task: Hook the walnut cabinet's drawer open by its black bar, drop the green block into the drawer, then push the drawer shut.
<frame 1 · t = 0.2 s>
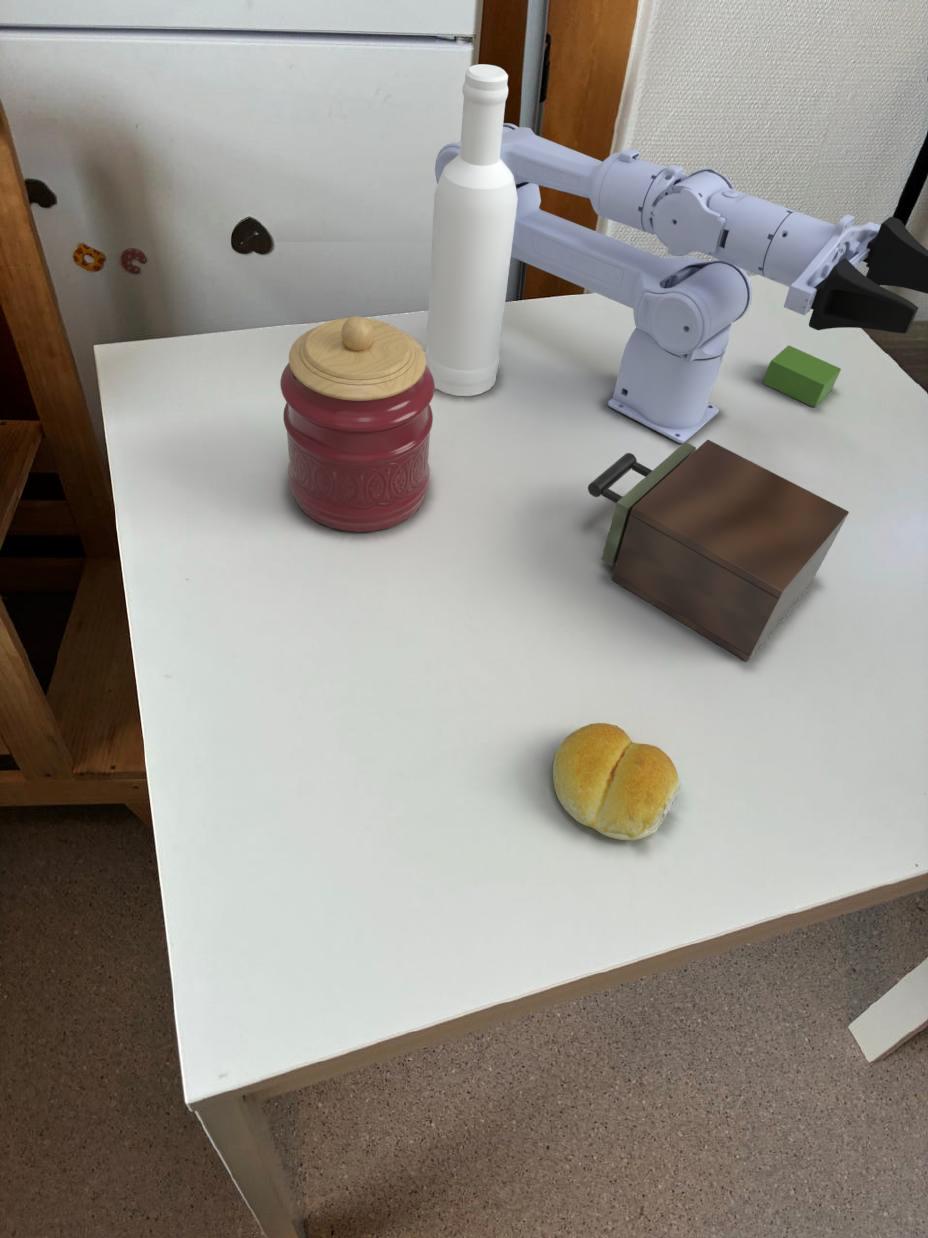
drawer: (683, 522, 79), point 4 cm above the table, slide at 0.5 cm
green block: (796, 387, 102), on the table
cabinet: (712, 581, 81), on the table
kitchen canister: (359, 489, 85), on the table
bread roll: (611, 790, 66), on the table
bottle: (460, 377, 98), on the table
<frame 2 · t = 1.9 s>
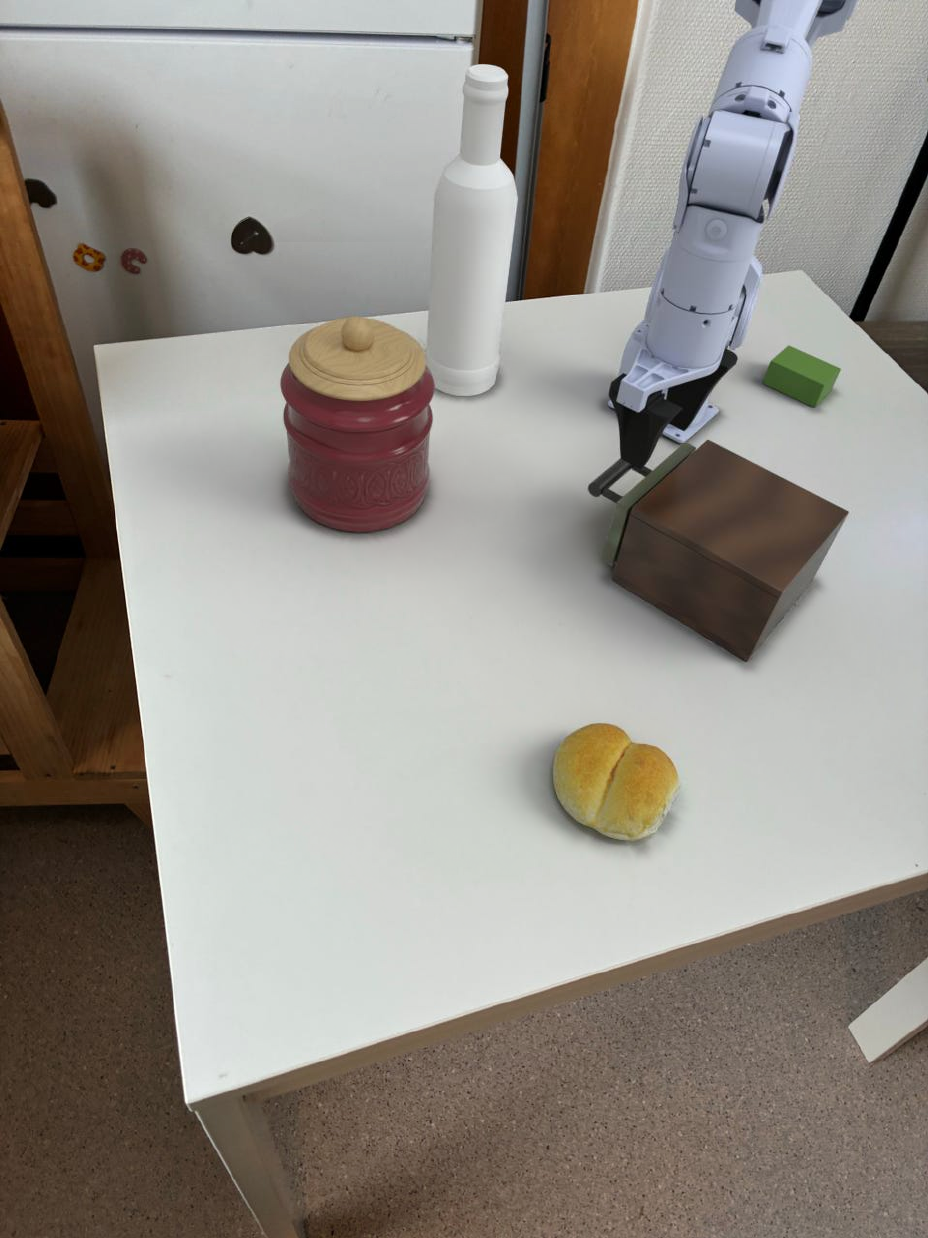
hand: (654, 442, 76), 10 cm above the table, tool pointing down, fingers open, 6 cm apart
nothing on the table moved.
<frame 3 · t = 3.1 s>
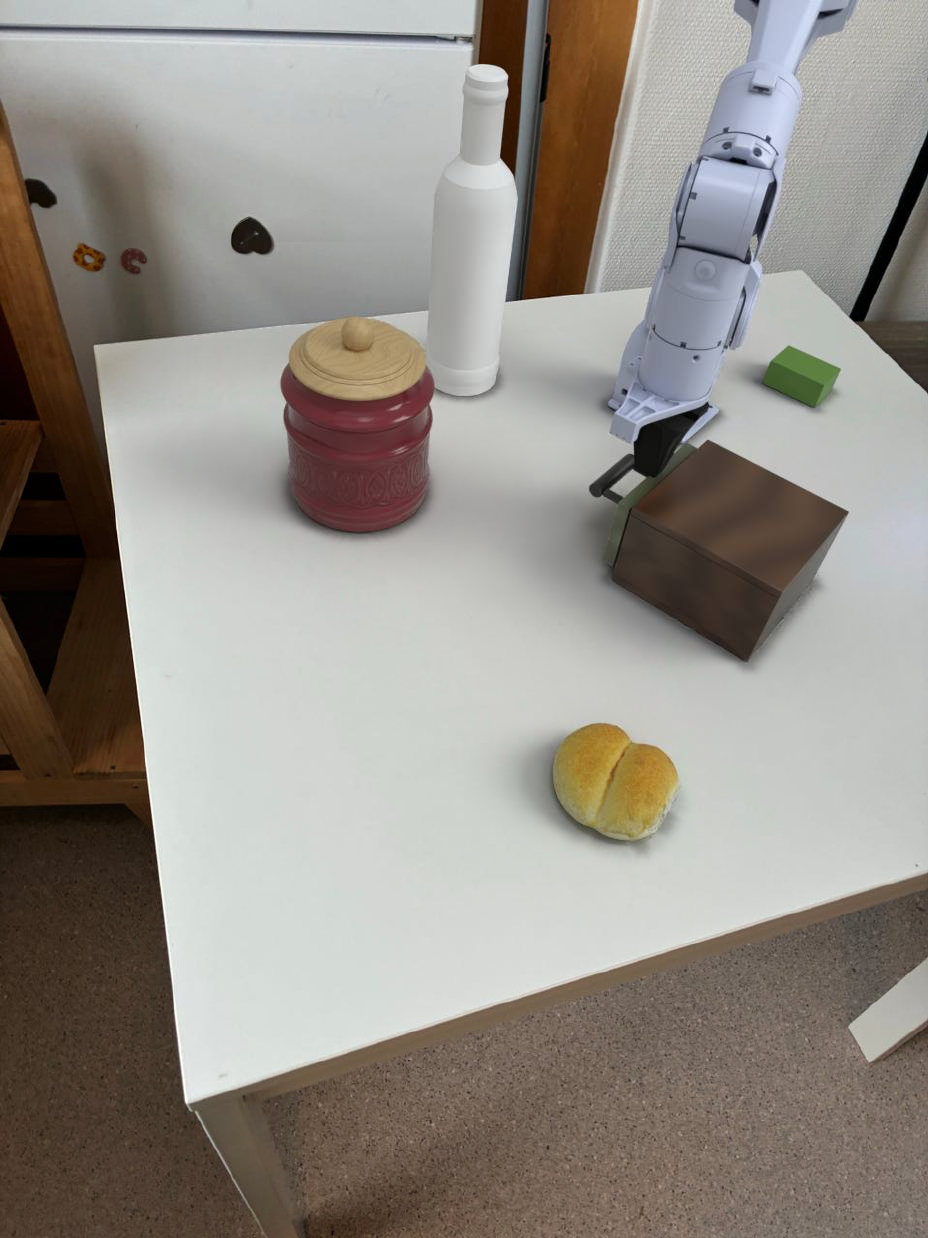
hand: (647, 471, 78), 7 cm above the table, tool pointing down, fingers closed, pressing on drawer
drawer: (684, 522, 79), point 4 cm above the table, slide at 0.4 cm, touching gripper
everything else where it was.
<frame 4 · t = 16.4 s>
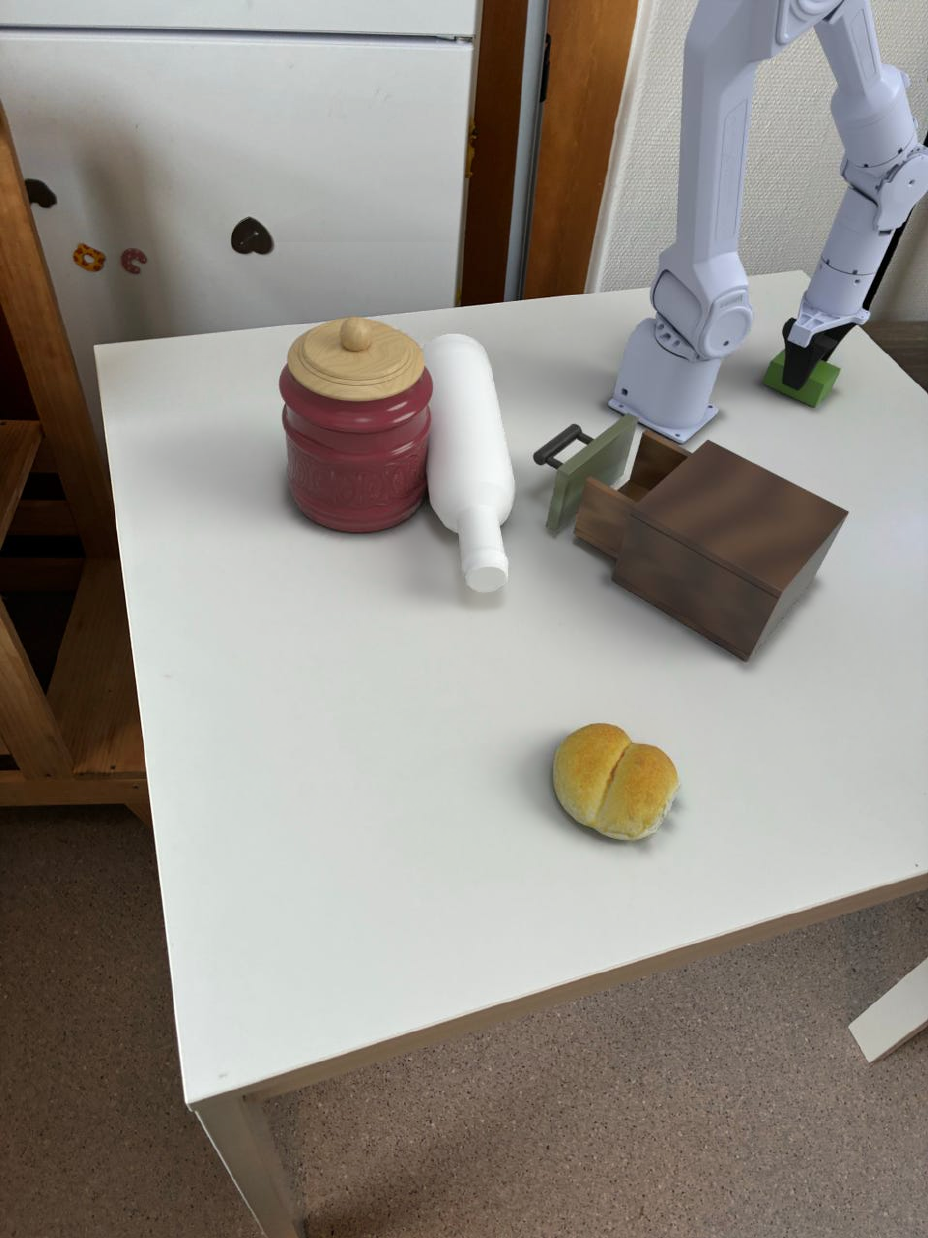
hand: (800, 376, 101), 1 cm above the table, tool pointing down, fingers closed on green block, 4 cm apart
drawer: (624, 489, 81), point 4 cm above the table, slide at 6.6 cm
green block: (796, 387, 102), on the table, touching gripper
kitchen canister: (358, 490, 85), on the table, touching bottle
bottle: (451, 364, 93), point 4 cm above the table, touching kitchen canister
everything else where it was.
when the fingers open (6 cm above the table, at t = 22.8 s): green block drops 3 cm, resting on drawer.
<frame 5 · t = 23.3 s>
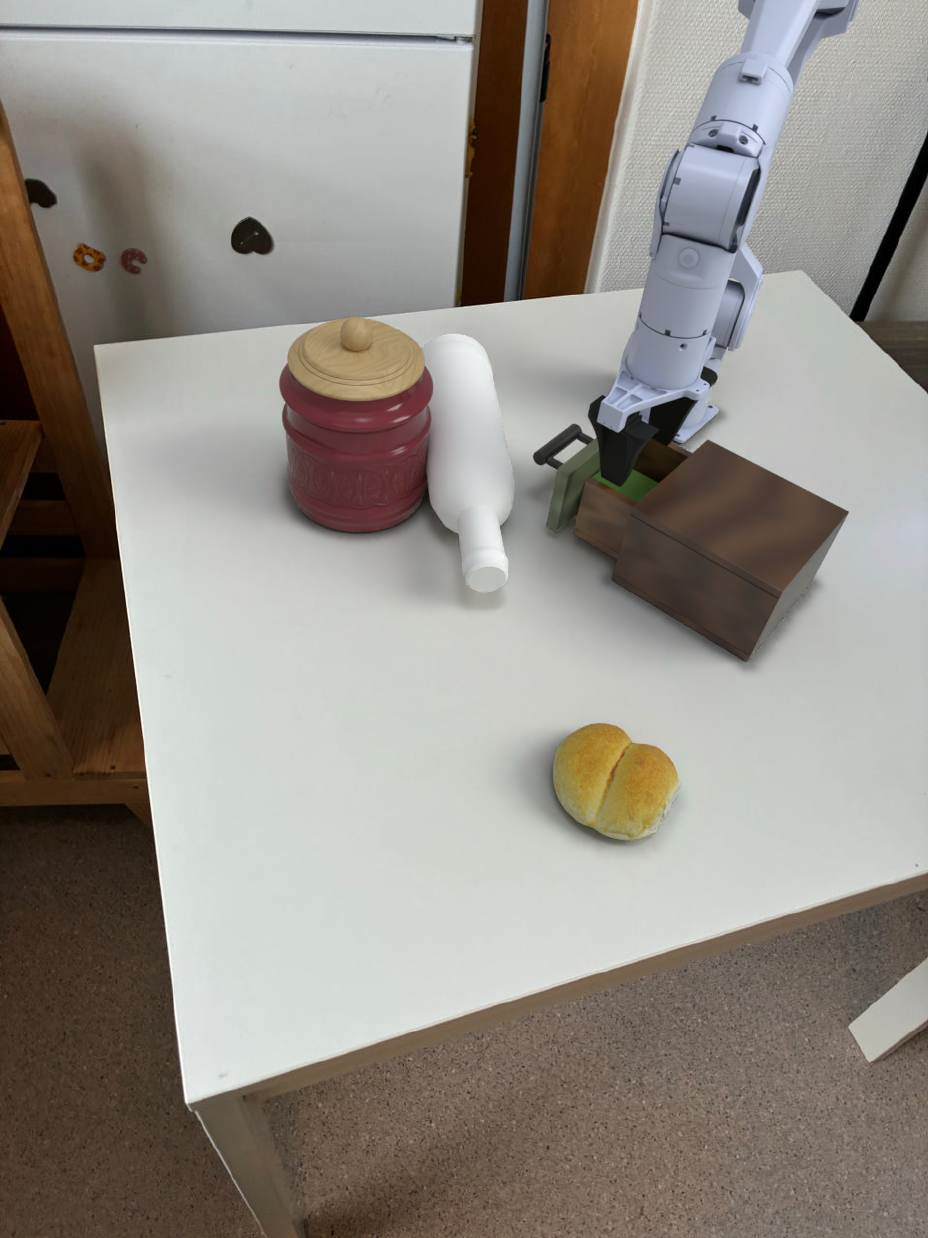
hand: (636, 459, 78), 8 cm above the table, tool pointing down, fingers open, 7 cm apart
drawer: (624, 489, 81), point 4 cm above the table, slide at 6.6 cm, touching green block
green block: (623, 510, 83), point 2 cm above the table, touching drawer
everything else where it was.
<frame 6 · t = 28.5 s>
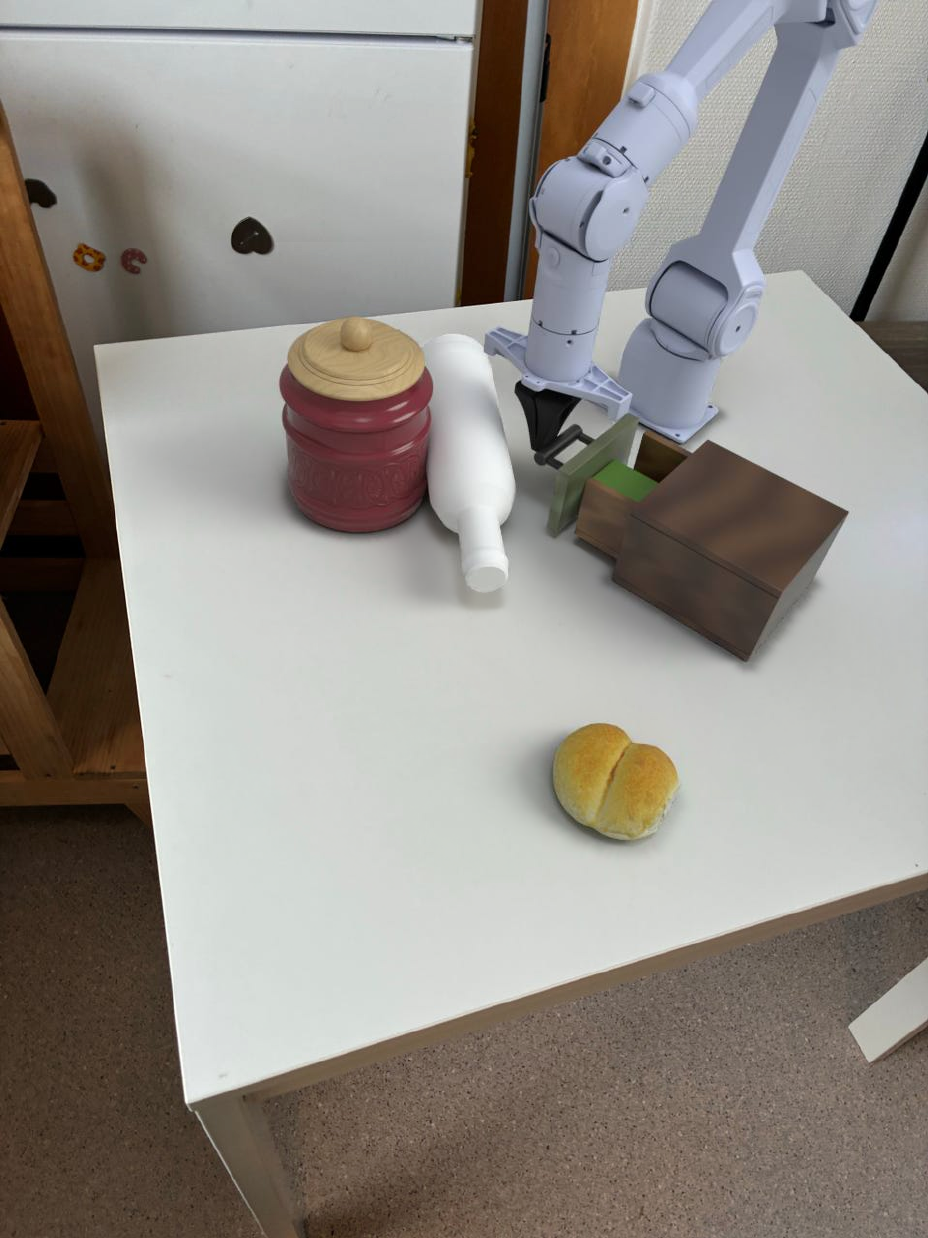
hand: (542, 447, 85), 4 cm above the table, tool pointing down, fingers closed
drawer: (625, 490, 81), point 4 cm above the table, slide at 6.5 cm, touching gripper, green block
everything else where it was.
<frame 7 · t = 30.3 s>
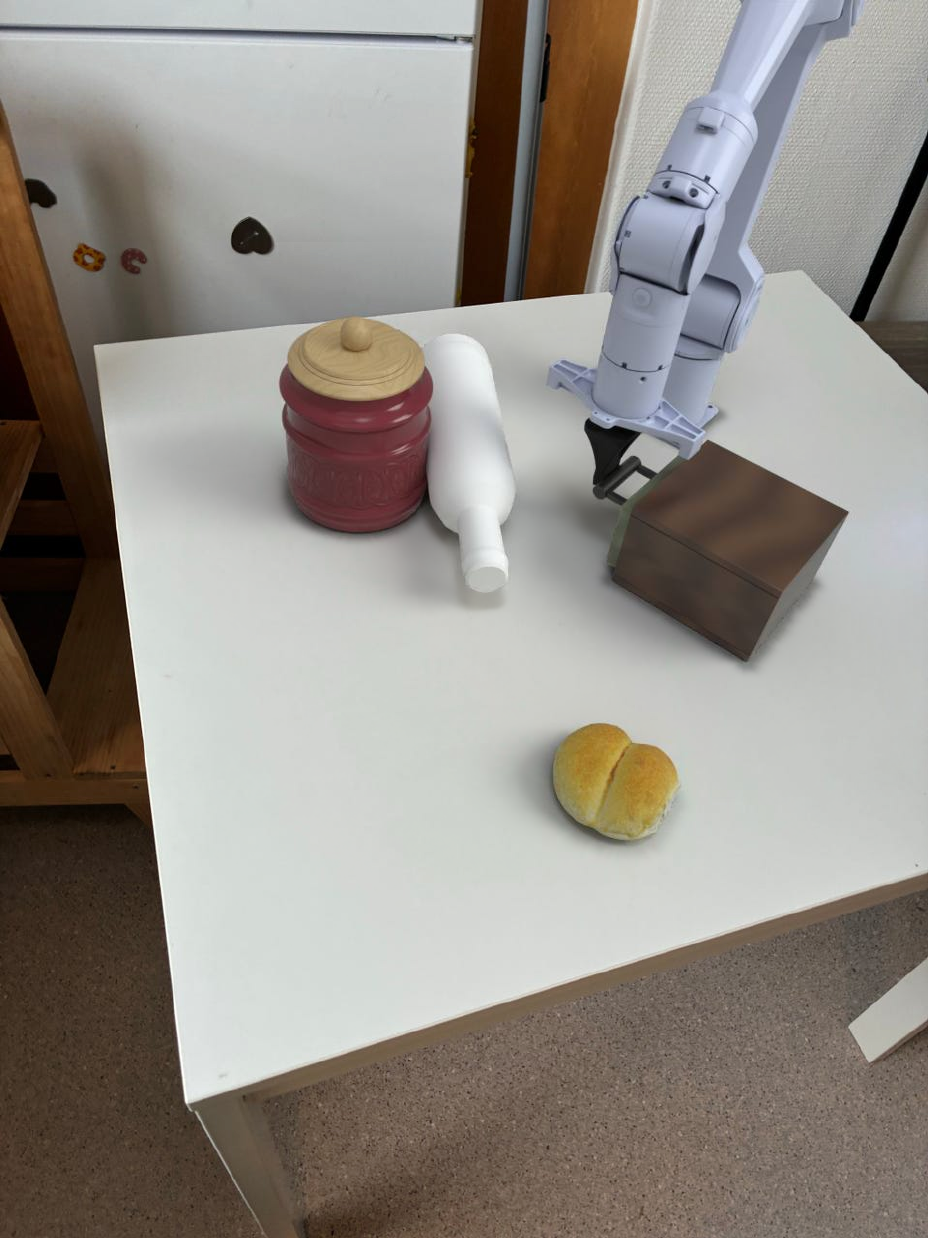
hand: (603, 482, 82), 4 cm above the table, tool pointing down, fingers closed, pressing on drawer
drawer: (688, 525, 79), point 4 cm above the table, slide at 0.0 cm, touching cabinet, gripper, green block
green block: (685, 546, 80), point 2 cm above the table, touching drawer
everything else where it was.
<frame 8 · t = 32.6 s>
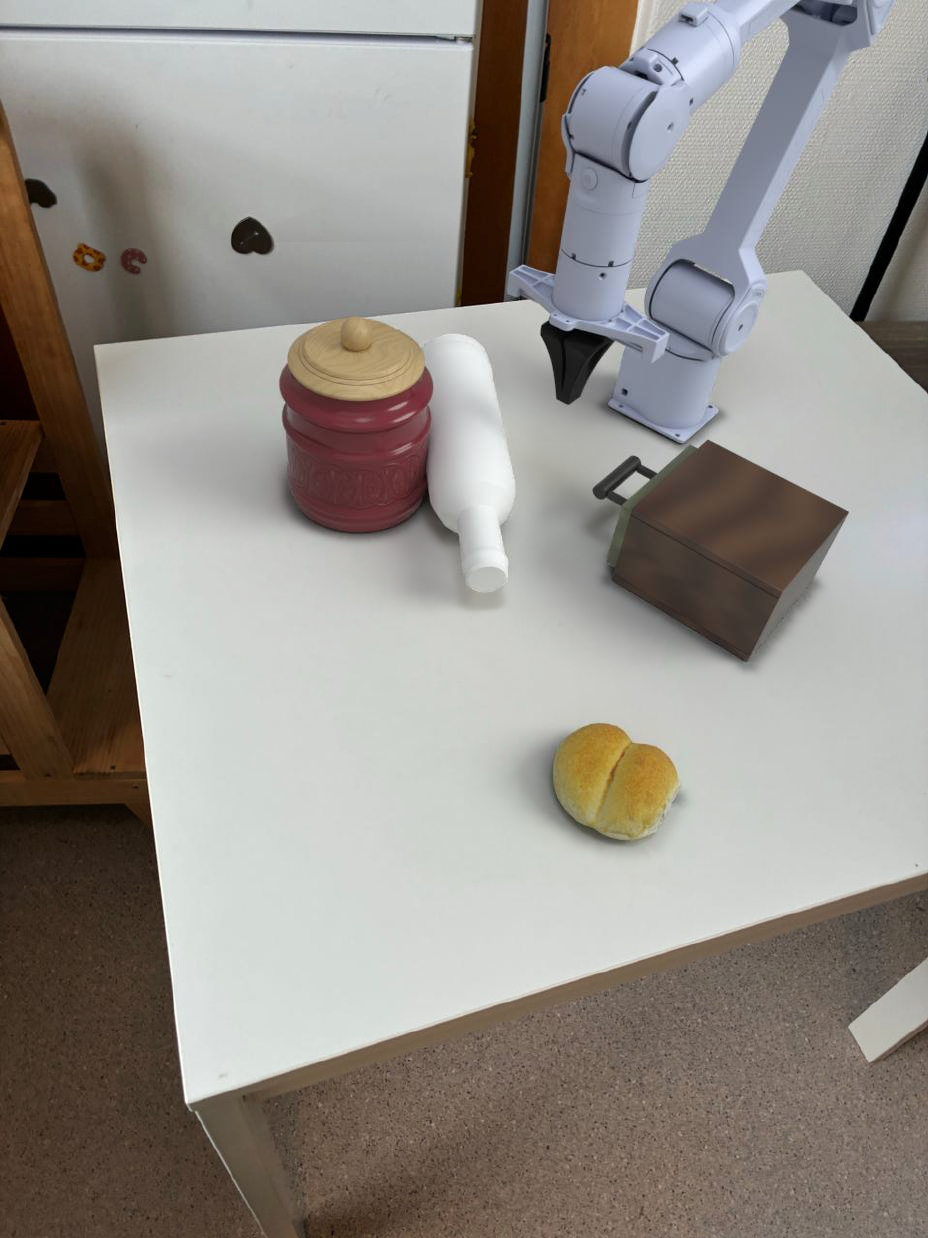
hand: (568, 397, 79), 10 cm above the table, tool pointing down, fingers closed
drawer: (688, 525, 79), point 4 cm above the table, slide at 0.0 cm, touching cabinet, green block
everything else where it was.
at the end: drawer pulled out 7.8 cm at the most during the clip, back to where it started at the end; green block inside the target area in the cabinet (2.9 cm from its centre), point 2.0 cm above the cabinet's base; drawer slide at 0.0 cm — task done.
